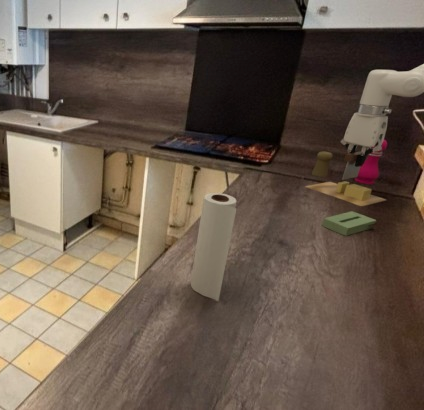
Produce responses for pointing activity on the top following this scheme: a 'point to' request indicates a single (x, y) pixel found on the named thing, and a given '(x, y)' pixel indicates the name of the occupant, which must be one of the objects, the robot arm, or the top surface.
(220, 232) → the paper towel roll
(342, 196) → the board
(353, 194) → the butter block
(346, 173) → the scraper
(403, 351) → the top surface
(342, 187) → the butter pat
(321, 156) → the cork
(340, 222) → the stand
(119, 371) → the top surface
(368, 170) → the pepper mill
